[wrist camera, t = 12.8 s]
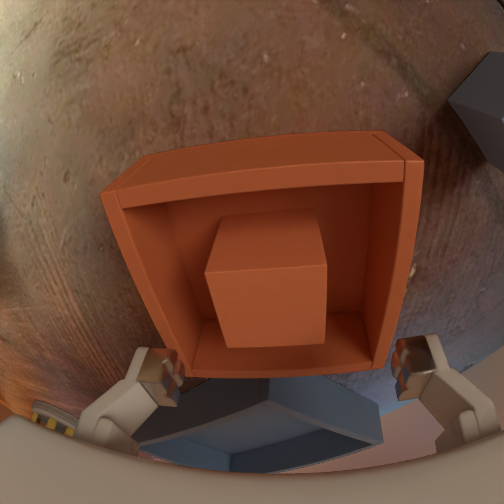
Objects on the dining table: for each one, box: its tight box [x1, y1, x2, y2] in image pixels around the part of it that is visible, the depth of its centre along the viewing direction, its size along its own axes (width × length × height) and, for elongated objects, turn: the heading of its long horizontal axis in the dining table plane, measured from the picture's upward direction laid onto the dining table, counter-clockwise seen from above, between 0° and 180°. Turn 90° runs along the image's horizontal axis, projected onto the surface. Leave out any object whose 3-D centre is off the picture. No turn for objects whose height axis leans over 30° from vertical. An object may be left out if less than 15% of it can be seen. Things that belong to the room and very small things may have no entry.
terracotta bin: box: [99, 130, 424, 378], centre depth 14 cm, size 12×12×5 cm
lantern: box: [31, 400, 79, 437], centre depth 31 cm, size 14×14×25 cm
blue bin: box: [131, 375, 383, 474], centre depth 27 cm, size 24×16×5 cm, turn 138°
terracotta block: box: [204, 208, 327, 348], centre depth 14 cm, size 4×4×4 cm
